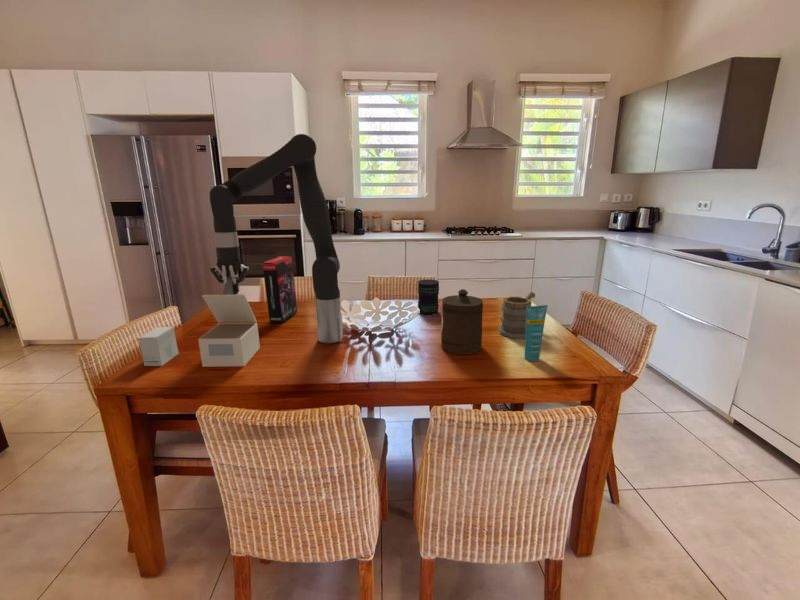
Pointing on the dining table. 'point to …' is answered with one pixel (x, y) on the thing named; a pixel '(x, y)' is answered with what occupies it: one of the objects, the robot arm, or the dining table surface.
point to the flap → (230, 305)
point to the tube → (534, 331)
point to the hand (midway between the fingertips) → (232, 293)
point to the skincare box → (158, 346)
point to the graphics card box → (280, 288)
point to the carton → (229, 344)
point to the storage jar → (428, 296)
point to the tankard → (514, 316)
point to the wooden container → (461, 324)
